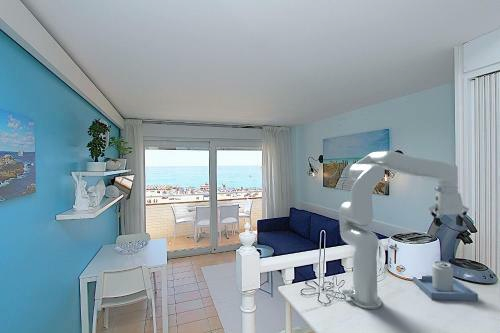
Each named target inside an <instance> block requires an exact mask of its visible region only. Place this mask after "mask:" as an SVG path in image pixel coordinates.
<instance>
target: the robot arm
mask: <svg viewBox="0 0 500 333" xmlns="http://www.w3.org/2000/svg"><path fill="white" fill-rule="evenodd" d="M386 170H387V171H391V172H395V173H399V174H403V175H407V176H413V177H421V178H422V179H424V180H427V181H437V186H436V187H435V188H434V190H435V191H436V193H435V195H434V196H435V198H434V205H431V206H430V207H428V208H427V210H428V212H429V214H430V215H431V217H432V218H433V225H434V226H437V227H441V218H440V216H441V215H447V216H449V215H456V217H455V224H456V225H457V226H460V227H463V224H464V218H465V216H466V215H467V213H468V211H469V207H468V206H465V205H464V204H463V200H462V199H463V198H462V195H461V192H459V182H458V181H459V180H458V178H459V177H458V175H459V174H458V166H457V165H456V164H453V163H447V162H443V161H439V160H432V159H428V158H424V157H423V158H422V157H417V156H416V157H415V156H412V155H407V154H404V153H400V152H397V151H393V150H380V151H379V150H378V151H374V152H371V153H369V154H367V155H366V156H365V157H363V158H361V159H360V160H358V161H357V162H355V163H353V164H352V165H351V166H350V167H349V170H348V176H349V178H350V179H351V180H353V184H352V186H351V187H350V191H349V192H350V196H349V197H350V198H349V199H350V200H347V201H345V202H343V203H342V204H341V205H340V207H339V210H338V219H339V220H338V221H339V231H340V232H339V234H340V237H341V239H342V241H343V242H345V244H348V245H350V246H351V247H353V248H354V249H355V251H354V252H353V255H352V260H351V261H352V262H351V263H352V281H353V284H352V285H353V286H351V288H349V289H342V290H341V292H342V293H341V294H342V295H346V297H347V298H349V300H350V301H351V302H352V303H353V305H356V306H358V307H360V308H362V309H366V310H367V309H368V310H376V309H379V308H380V307H382V305H383V301H382V298H381V297H380V296H379V295H378V271H377V270H378V264H377V260H378V259H377V256H378V249H379V243H380V242H379V241H380V240H379V238H378V236H377V234H376V233H375V232H373V231H371V230H370V229H367V228H365V227H369V226H371V224H372V223H373V220H374V210H373V207H374V206H373V193H374V192H373V191H374V189H375V188H376V186H378V184H380V182H381V181H382V180H383V179H384V177H385V174H386V172H385V171H386Z"/></svg>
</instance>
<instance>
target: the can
mask: <svg viewBox="0 0 500 333" xmlns="http://www.w3.org/2000/svg"><path fill="white" fill-rule="evenodd" d="M431 270H432V272H431V273H432V274H431V275H432V281H433V287H434V288H435V289H437V290H438V291H441V292H451V291H453V278H454V268H453V267H452V264H450V263H449V262H446V261H442V260H435V261H433V263H432V265H431Z"/></svg>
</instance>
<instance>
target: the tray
mask: <svg viewBox="0 0 500 333" xmlns="http://www.w3.org/2000/svg"><path fill="white" fill-rule="evenodd" d="M425 275H426V274H425ZM413 282H414V283H415V284H416V285H417V286H418V287H419V288H418V287H417V286H416V285H415V284H414V283H413ZM413 282H412V283H413V284H414V285H415V286H416V287H417V288H418V289H419V290H421V292H423V294H425V295H426V296H427V297H428V298H429V299H430V300H432V301H460V302H461V301H464V302H479V294H478V293H477V292H475V290H473V289H471V288H470V287H468V286H467V285H465V284H464V283H462V282H461V281H460V280H458V279H456V278H455V277H453V291H451V292H441V291H438V290H437V289H435V288H434V287H433V281H432V274H431V275H426V276H422V279H421V281H420V280H419V279H417V278H416V277H413Z"/></svg>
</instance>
